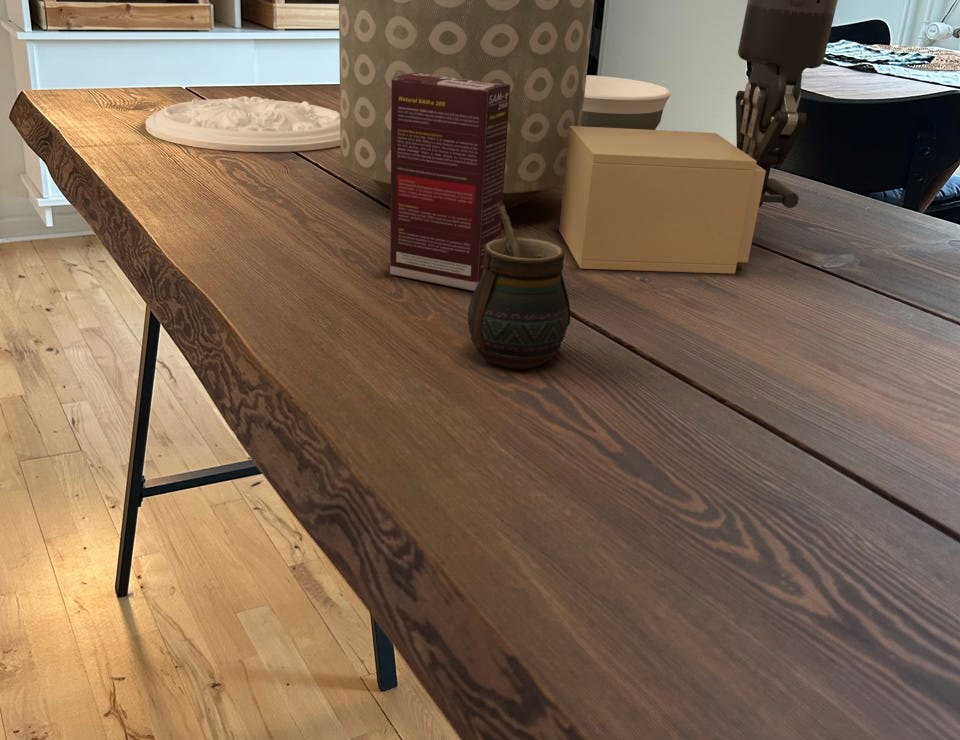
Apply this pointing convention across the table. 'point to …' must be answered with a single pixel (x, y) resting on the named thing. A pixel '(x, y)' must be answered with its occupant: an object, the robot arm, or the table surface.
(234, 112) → the ceiling medallion
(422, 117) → the supplement box
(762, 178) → the drawer
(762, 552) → the table surface
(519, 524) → the table surface
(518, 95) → the planter
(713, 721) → the table surface
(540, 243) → the mate gourd
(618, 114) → the bowl
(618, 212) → the cabinet
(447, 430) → the table surface
